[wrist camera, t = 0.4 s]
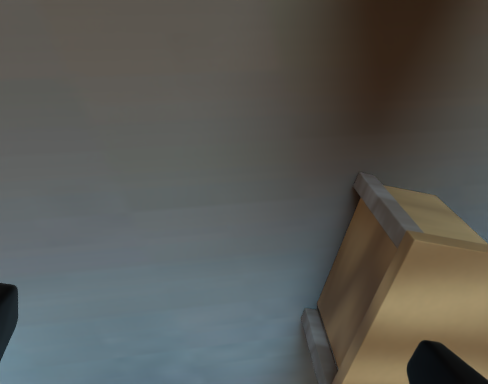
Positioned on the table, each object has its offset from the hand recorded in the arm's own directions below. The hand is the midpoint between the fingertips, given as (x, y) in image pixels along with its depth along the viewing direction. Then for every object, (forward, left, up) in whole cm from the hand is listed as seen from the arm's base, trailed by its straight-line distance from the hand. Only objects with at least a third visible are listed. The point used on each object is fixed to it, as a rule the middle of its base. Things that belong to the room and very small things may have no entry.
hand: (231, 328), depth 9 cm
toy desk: (-7, -16, -14) cm, 22 cm away
